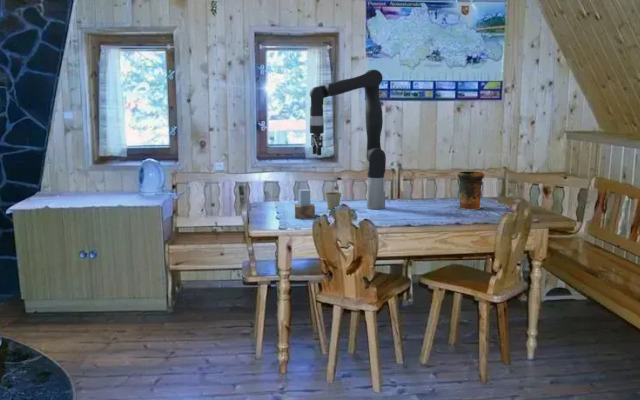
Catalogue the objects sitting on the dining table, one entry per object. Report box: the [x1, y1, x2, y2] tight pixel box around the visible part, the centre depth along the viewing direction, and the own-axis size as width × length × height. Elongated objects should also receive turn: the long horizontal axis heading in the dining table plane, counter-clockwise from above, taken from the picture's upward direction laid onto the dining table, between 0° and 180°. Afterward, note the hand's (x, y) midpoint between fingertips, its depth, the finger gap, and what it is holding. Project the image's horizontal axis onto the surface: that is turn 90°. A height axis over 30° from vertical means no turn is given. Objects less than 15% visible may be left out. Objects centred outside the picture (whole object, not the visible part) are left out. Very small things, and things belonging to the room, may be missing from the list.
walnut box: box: [294, 203, 316, 219], centre depth 330 cm, size 10×10×6 cm
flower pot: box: [324, 191, 343, 210], centre depth 352 cm, size 9×9×9 cm
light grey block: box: [297, 188, 311, 206], centre depth 329 cm, size 5×5×8 cm
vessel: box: [457, 170, 485, 211], centre depth 353 cm, size 14×14×20 cm
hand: (316, 154), depth 346 cm, fingers open, 8 cm apart
